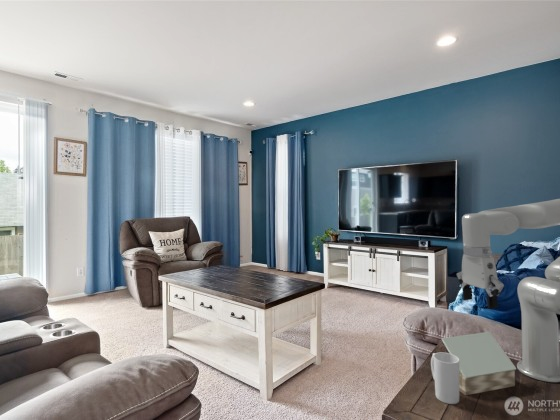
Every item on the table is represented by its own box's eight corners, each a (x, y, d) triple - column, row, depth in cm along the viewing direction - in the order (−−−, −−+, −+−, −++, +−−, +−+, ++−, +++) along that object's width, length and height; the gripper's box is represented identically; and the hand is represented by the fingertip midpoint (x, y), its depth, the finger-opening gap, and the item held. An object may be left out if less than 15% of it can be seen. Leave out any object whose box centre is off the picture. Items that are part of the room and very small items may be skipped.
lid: (488, 332, 109) (489, 331, 109) (515, 369, 100) (516, 368, 99) (441, 339, 105) (442, 338, 105) (464, 378, 96) (465, 377, 95)
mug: (465, 402, 93) (464, 361, 92) (445, 406, 91) (444, 364, 91) (441, 384, 102) (440, 346, 102) (422, 387, 101) (421, 349, 101)
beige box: (481, 366, 112) (480, 352, 112) (514, 385, 100) (514, 370, 100) (436, 373, 108) (436, 359, 108) (465, 395, 96) (465, 379, 96)
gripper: (510, 254, 97) (513, 310, 97) (465, 247, 114) (468, 295, 114) (490, 256, 95) (493, 313, 96) (447, 249, 112) (450, 298, 113)
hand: (479, 303), depth 105 cm, fingers open, 9 cm apart
